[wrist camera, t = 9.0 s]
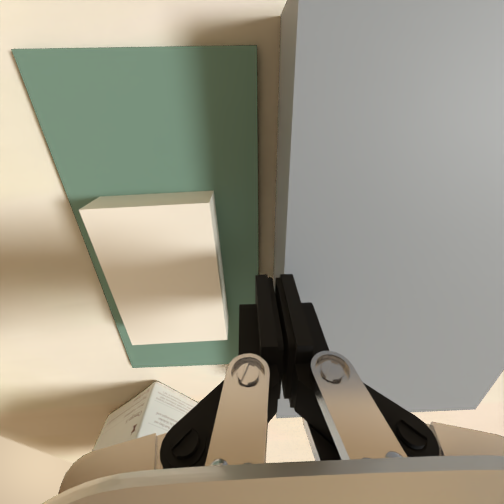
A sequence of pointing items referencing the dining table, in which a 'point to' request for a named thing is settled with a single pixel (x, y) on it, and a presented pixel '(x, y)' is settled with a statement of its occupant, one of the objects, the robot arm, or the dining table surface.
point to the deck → (396, 190)
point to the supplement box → (145, 415)
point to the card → (162, 264)
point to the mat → (158, 151)
